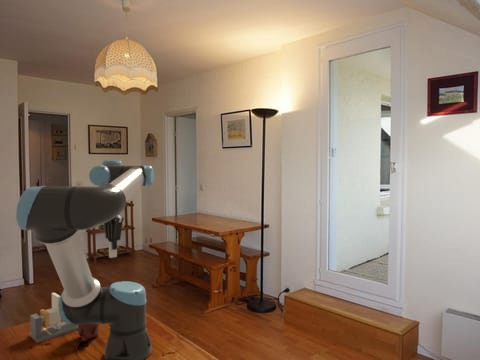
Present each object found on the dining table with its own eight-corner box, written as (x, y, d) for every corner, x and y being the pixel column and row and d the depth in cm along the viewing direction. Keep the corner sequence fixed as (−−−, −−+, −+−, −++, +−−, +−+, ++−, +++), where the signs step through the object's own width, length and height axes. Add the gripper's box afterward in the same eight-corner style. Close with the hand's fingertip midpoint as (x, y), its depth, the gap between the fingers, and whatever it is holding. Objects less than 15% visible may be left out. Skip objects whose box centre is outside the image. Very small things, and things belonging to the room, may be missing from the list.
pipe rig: (75, 321, 146) (75, 301, 146) (84, 327, 141) (84, 306, 140) (29, 335, 133) (29, 313, 133) (37, 342, 128) (36, 320, 128)
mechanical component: (108, 332, 137) (92, 345, 127) (85, 329, 139) (67, 342, 129) (108, 300, 136) (92, 310, 126) (84, 298, 138) (67, 308, 128)
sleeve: (54, 323, 139) (54, 292, 138) (61, 328, 135) (60, 296, 134) (43, 326, 136) (43, 295, 136) (49, 331, 132) (49, 299, 131)
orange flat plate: (43, 322, 136) (43, 309, 135) (49, 326, 132) (49, 312, 132) (40, 323, 135) (40, 309, 135) (45, 327, 131) (45, 313, 131)
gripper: (129, 199, 143) (129, 258, 144) (113, 197, 151) (113, 252, 152) (111, 200, 137) (112, 261, 138) (95, 198, 146) (96, 255, 147)
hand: (113, 256), depth 145 cm, fingers closed
